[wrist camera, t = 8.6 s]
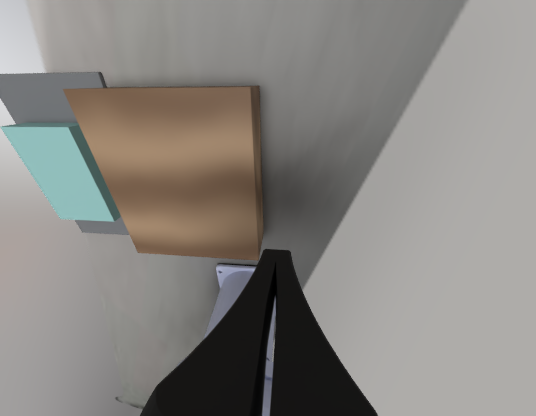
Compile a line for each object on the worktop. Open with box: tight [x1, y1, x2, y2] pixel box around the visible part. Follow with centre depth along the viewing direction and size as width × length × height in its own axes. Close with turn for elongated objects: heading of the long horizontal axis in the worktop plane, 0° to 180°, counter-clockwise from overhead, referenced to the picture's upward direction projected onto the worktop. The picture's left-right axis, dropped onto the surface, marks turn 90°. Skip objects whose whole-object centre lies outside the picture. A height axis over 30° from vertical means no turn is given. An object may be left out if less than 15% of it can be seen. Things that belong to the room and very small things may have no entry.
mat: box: [0, 72, 130, 235], centre depth 20 cm, size 16×10×1 cm, turn 1°
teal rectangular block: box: [1, 123, 121, 222], centre depth 19 cm, size 9×6×2 cm, turn 1°
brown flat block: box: [63, 86, 263, 260], centre depth 18 cm, size 14×12×4 cm
